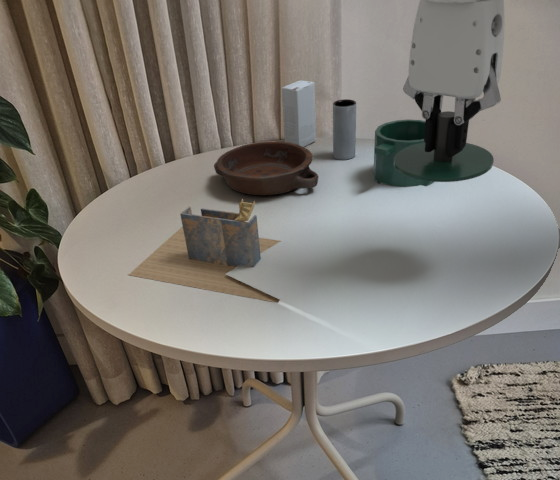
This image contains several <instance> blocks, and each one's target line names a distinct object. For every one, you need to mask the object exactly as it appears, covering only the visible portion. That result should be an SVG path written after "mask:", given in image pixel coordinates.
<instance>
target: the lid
mask: <svg viewBox="0 0 560 480" xmlns="http://www.w3.org/2000/svg"><path fill="white" fill-rule="evenodd" d="M452 123H454V111H441V113H439V114H438V116H437V127H436V137H435V148H434V150H433V151H431V152H425V142H424V143H419V144H415V145H412V146H409V147H406V148H404V149H402V150H401V151H399V152H398V153H397V154H396V155H395V157H394V166H395V168H396V169H397V170H398V171H399V172H400V173H402V174H404V175H406V176H408V177H411V178H415V179H419V180H424V181H432V182H433V183H453V182H454V183H455V182H462V181H468V180H472V179H476V178H478V177H481V176H483V175H485V174H486V173H488V172H489V171H490V170H492V167H493V165H494V162H495V159H494V156H493V154H492V153H491V152H490V151H489V150H488V149H486V148H484V147H482V146H479V145H477V144H473V143H469V142H466V145H465V147H464V148H463V150H462V151H461V152H459V153H457V154H456V155H454V156H453V157H448V156H447V155H446V149H447V140H448V131H449V126H450V125H451V124H452Z"/></svg>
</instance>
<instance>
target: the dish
mask: <svg viewBox="0 0 560 480" xmlns="http://www.w3.org/2000/svg"><path fill="white" fill-rule="evenodd" d="M313 159H314V156H313V153H312V152H311V150H309V149H308V148H306V147H302V146H300V145H297V144H293V143H289V142H285V141H277V140H276V141H261V142H260V141H259V142H253V143H252V142H251V143H247V144H244V145H241V146H238V147H235V148H233V149H231V150H228V151H226V152H224V153H223V154H221V155H220V156H219V157H218V159H217V160H216V162H215V163H214V165H213V168H214V171H215V173H216V174H217V175H218V176H221V177H223V178H224V181H225V182H226V184H227V185H228V186H229V187H230V188H231V189H232V190H234V191H236V192H239V193H242V194H247V195H254V196H273V195H279V194H286V193H288V192H291V191H294V190H295V189H312V188H315V187H317V186H318V183H319V175H318V173H317V172H316V171H313V169H311V168H310V165H311V164H312V162H313Z"/></svg>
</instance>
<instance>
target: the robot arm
mask: <svg viewBox="0 0 560 480" xmlns="http://www.w3.org/2000/svg"><path fill="white" fill-rule="evenodd" d="M504 40H505V0H419V2H418V6H417V10H416V14H415V18H414V23H413V29H412V36H411V41H410V42H411V43H410V50H409V61H408V76H407V78H406V79H405V82H404V85H403V88H402V91H403V93H405V94H406V95H407V96H408V97H409V98H411V99H412V100H414V102H415V103H416V105H417V106H418V108H419V109H420V111H421V117H422V119H423V120H424V121H425V133H424V141H425V152H431V151H433V150H434V148H435V137H436V127H437V116H438V114H439V113H441V112H442V109H443V102H444V97H452V98H454V110H453V112H454V123H452V124H451V125H450V126H449V131H448V140H447V149H446V155H447V156H448V157H453V156H454V155H456V154H457V153H459V152H461V151H462V150H463V148H464V147H465V145H466V143H467V139H468V132H469V125H470V124H469V123H470V120H472V119H473V118H474V117H475V116H476V115H477V114H478V113H480V112H481V111H484V110H487V109H490V108H493V107H494V106H496V105H498V104H500V102H501V100H502V97H501V93H500V89H499V83H500V78H501V73H502V64H503V53H504V44H505V43H504ZM482 95H483V96H482ZM481 96H482V97H481ZM479 97H481V98H479ZM477 98H478V99H477Z"/></svg>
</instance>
